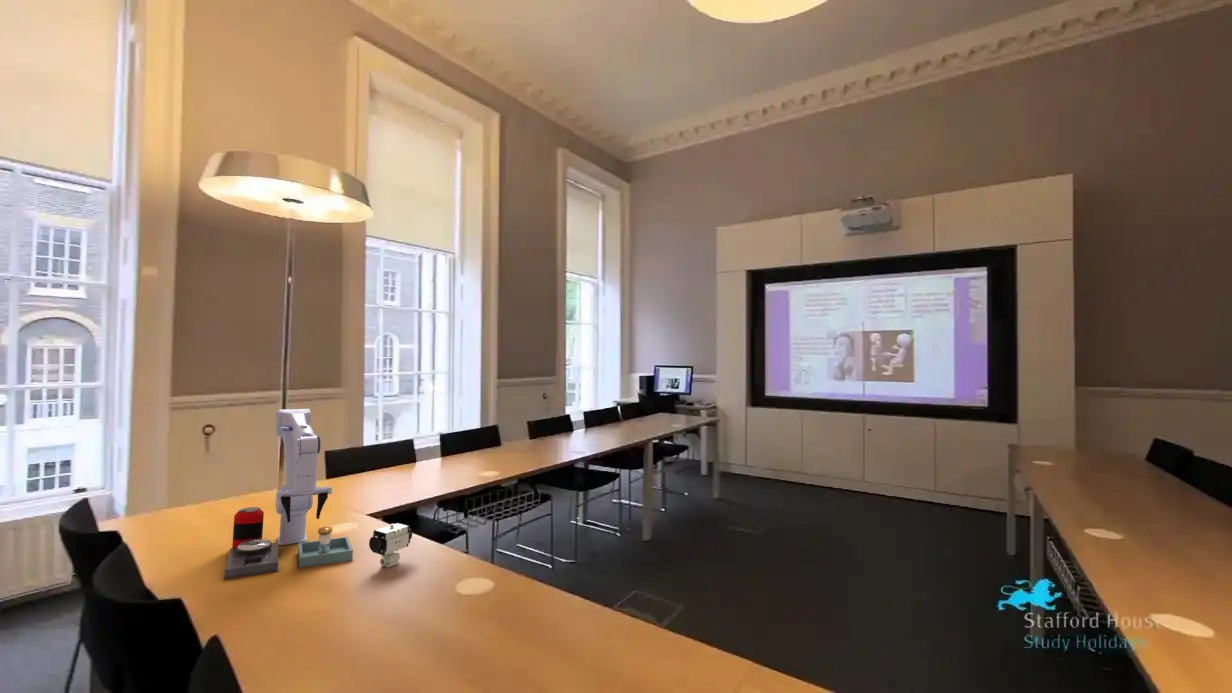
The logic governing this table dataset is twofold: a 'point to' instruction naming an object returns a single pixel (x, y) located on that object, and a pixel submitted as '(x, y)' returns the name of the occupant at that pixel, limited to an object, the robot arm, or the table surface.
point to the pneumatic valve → (390, 542)
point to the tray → (338, 553)
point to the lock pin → (324, 539)
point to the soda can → (247, 525)
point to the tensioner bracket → (252, 558)
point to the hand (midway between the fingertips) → (303, 519)
